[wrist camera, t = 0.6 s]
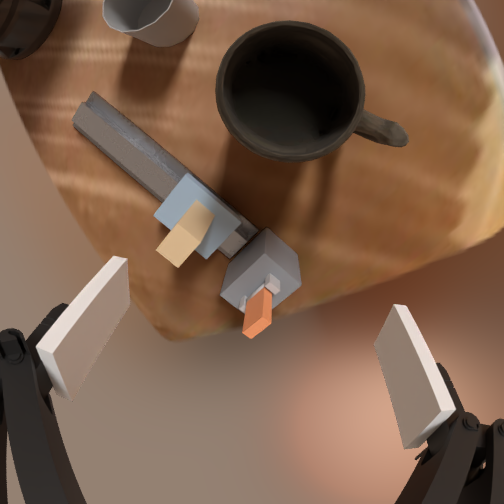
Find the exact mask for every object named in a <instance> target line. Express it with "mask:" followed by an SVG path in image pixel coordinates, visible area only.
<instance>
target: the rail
mask: <svg viewBox="0 0 504 504" xmlns="http://www.w3.org/2000/svg"><path fill="white" fill-rule="evenodd" d="M72 121H73V122H74V124H73V126H74V127H75V128H76V129H77V130H78V131H79V132H81V133H82V134H83V135H84V136H85V137H86V138H87V139H89V140H90V141H91V142H92V143H93V144H94V145H95V146H97V147H98V148H99V149H100V150H101V151H102V152H103V153H105V154H106V155H107V156H108V157H109V158H110V159H112V160H113V161H114V162H115V163H116V164H117V165H119V166H120V167H121V168H122V169H123V170H124V171H126V172H127V173H128V174H129V175H130V176H131V177H133V178H134V179H135V180H136V181H137V182H138V183H140V184H141V185H142V186H143V187H144V188H145V189H147V190H148V191H149V192H150V193H151V194H153V195H154V196H155V197H156V198H157V199H158V200H160V201H161V202H162V203H163V202H164V201H165V200H166V198H167V197H168V196H169V194H170V193H171V192H172V191H173V189H174V188H175V187H176V186H177V184H178V183H179V182H180V181H181V179H182V178H183V177H184V176H185V174H187V173H189V174H190V175H191V176H193V177H194V178H195V179H196V180H197V181H198V182H200V183H201V184H202V185H203V186H204V187H206V188H207V189H208V190H209V191H210V192H211V193H213V194H214V195H215V196H216V197H217V198H218V199H220V200H221V201H222V202H223V203H224V204H225V205H227V206H228V207H229V208H230V209H231V210H232V211H234V212H235V213H236V214H237V215H238V216H239V217H241V218H242V219H243V220H242V223H241V224H240V225H239V226H238V227H237V228H236V229H235V230H234V231H233V232H232V233H231V234H230V235H229V236H228V238H227V239H226V240H225V241H224V242H223V243H222V244H221V245H220V246H219V247H218V248H217V249H218V250H220V251H221V252H222V253H223V254H225V255H226V256H227V257H228V258H229V259H230V258H231V257H232V256H233V255H234V254H235V253H236V252H237V251H238V250H239V249H240V248H241V247H242V246H243V245H244V244H245V243H246V242H247V241H248V240H249V239H250V238H251V237H252V236H253V235H254V234H256V233H257V232H258V231H259V229H258V228H257V227H255V226H254V225H253V224H252V223H251V222H250V221H249V220H247V219H246V218H245V217H244V216H243V215H242V214H241V213H239V212H238V211H237V210H236V209H235V208H234V207H232V206H231V205H230V204H229V203H228V202H227V201H225V200H224V199H223V198H222V197H221V196H220V195H218V194H217V193H216V192H215V191H214V190H213V189H211V188H210V187H209V186H208V185H207V184H206V183H204V182H203V181H202V180H201V179H200V178H198V177H197V176H196V175H195V174H194V173H193V172H191V171H190V170H189V169H188V168H187V167H185V166H184V165H183V164H182V163H181V162H180V161H178V160H177V159H176V158H175V157H174V156H172V155H171V154H170V153H169V152H168V151H166V150H165V149H164V148H163V147H162V146H160V145H159V144H158V143H157V142H156V141H154V140H153V139H152V138H151V137H150V136H148V135H147V134H146V133H145V132H144V131H142V130H141V129H140V128H139V127H137V126H136V125H135V124H134V123H133V122H131V121H130V120H129V119H128V118H126V117H125V116H124V115H123V114H122V113H120V112H119V111H118V110H117V109H115V108H114V107H113V106H112V105H110V104H109V103H108V102H107V101H106V100H104V99H103V98H102V97H101V96H99V95H98V94H97V93H96V92H94V91H93V92H92V93H91V95H90V96H89V98H88V100H87V101H86V102H82V103H81V104H80V106H79V108H78V109H77V111H76V113H75V115H74V116H73V118H72Z"/></svg>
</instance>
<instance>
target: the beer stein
mask: <svg viewBox="0 0 504 504" xmlns="http://www.w3.org/2000/svg"><path fill="white" fill-rule="evenodd" d="M215 92H216V103H217V108H218V111H219V114H220V116H221V118H222V121H223V122H224V124H225V126H226V128H227V129H228V131H229V132H230V133H231V134H232V135H233V136H234V137H235V138H236V140H237V141H238V142H239V143H240V144H242V145H243V146H245V147H246V148H247V149H249V150H250V151H251V152H253V153H255V154H257V155H259V156H261V157H265V158H268V159H271V160H274V161H280V162H287V163H293V162H304V161H311V160H314V159H318V158H320V157H322V156H325V155H327V154H329V153H331V152H332V151H334V150H336V149H337V148H339V147H340V146H341V145H342V144H343V143H344V142H345V141H346V140H347V139H348V138H349V137H350V136H351V135H352V133H355V134H357V135H360V136H362V137H364V138H366V139H369V140H371V141H374V142H376V143H380V144H384V145H389V146H393V147H403V146H406V144H407V143H408V142H409V138H408V134H407V133H406V131H405V130H404V128H403V127H401V126H400V125H399V124H398V123H397V122H393V121H390V120H386V119H382V118H380V117H378V116H376V115H374V114H372V113H370V112H368V111H366V110H364V109H363V108H364V101H365V84H364V80H363V76H362V72H361V70H360V67H359V64H358V62H357V60H356V58H355V57H354V55H353V54H352V52H351V51H350V49H349V48H348V47H347V46H346V45H345V44H344V43H343V42H342V41H341V40H340V39H339V38H337V37H336V36H334V35H333V34H332V33H330V32H329V31H327V30H325V29H322V28H320V27H318V26H315V25H312V24H310V23H306V22H299V21H290V20H289V21H275V22H271V23H267V24H263V25H260V26H258V27H255V28H253V29H251V30H249V31H248V32H246V33H244V34H243V35H242V36H240V37H239V38H238V39H237V40H236V41H235V42H234V43H233V44H232V45H231V46H230V47H229V49H228V50H227V52H226V54H225V55H224V57H223V59H222V61H221V64H220V67H219V70H218V73H217V77H216V88H215Z"/></svg>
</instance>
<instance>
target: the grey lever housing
mask: <svg viewBox="0 0 504 504" xmlns="http://www.w3.org/2000/svg"><path fill="white" fill-rule="evenodd" d="M264 283H265V287H266V288H267V289H269V290H270V291H271V292H272V309H273V308H274V307H276V306H277V305H278V304H279V303H280V302H282V301H283V300H284V299H285V298H286V297H288V296H289V295H290V294H291V293H293V292H294V291H295V290H296V289H297V288H298V287H300V286H301V285H302V284H301V277H300V269H299V262H298V254H296V253H295V252H294V251H293V250H292V249H291V248H290V247H289V246H288V245H286V244H285V243H284V242H283V241H282V240H281V239H280V238H279V237H277V236H276V235H275V234H274V233H273V232H272V231H271V230H270V229H268V228H267V227H266V228H265V229H264V230H263V231H262V232H261V233H260V234H259V235H258V236H257V237H256V238H255V239H253V240H252V241H251V242H250V243H249V244H248V245H247V246H246V247H245V248H244V249H243V250H242V251H241V252H240V253H239V254H238V255H237V256H236V257H235V258H234V259H233V260H232V261H231V262H230V263H229V264H228V267H227V271H226V274H225V278H224V282H223V285H222V289H221V292H220V296H221V297H223V298H224V299H225V300H226V301H228V302H229V303H230V304H232V305H233V306H234V307H236V308H237V309H238V310H240V311H241V312H242V313H244V314H245V311H246V304H247V300H246V299H247V298H248V297H249V296H250V295H251V294H252V293H253V292H255V291H256V290H257V289H258V288H259V287H260V286H261V285H262V284H264Z"/></svg>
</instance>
